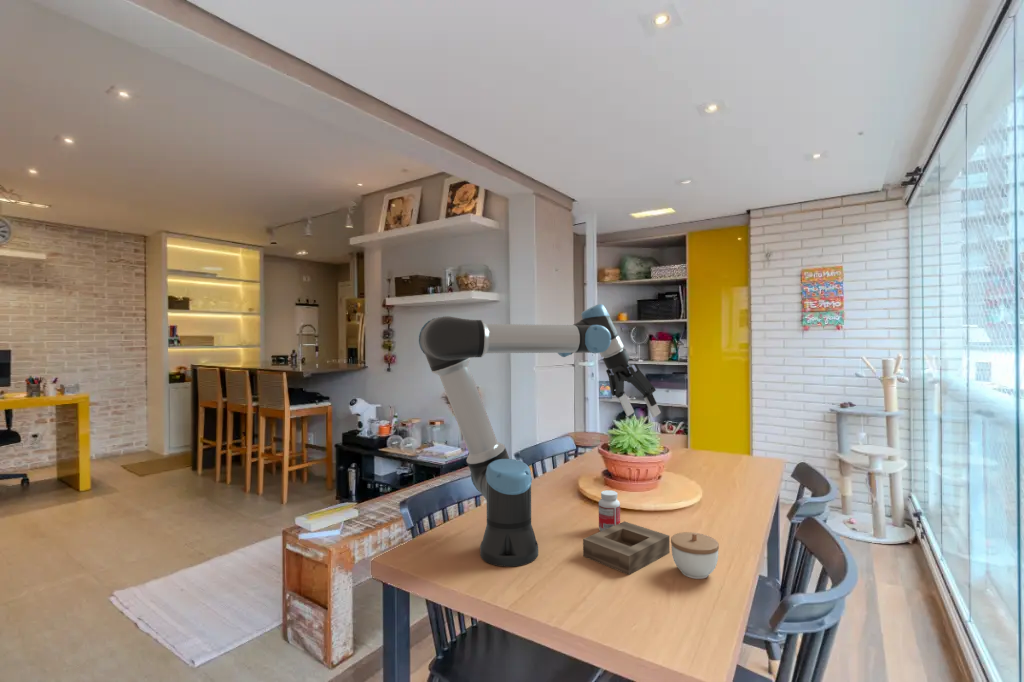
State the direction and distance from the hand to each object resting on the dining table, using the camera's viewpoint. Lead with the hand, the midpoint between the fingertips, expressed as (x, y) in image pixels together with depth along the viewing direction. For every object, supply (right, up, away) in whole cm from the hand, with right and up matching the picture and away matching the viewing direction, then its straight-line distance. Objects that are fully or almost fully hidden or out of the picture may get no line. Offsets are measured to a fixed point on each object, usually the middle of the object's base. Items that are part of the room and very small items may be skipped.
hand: (643, 414), depth 156 cm
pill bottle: (-12, -33, -8) cm, 36 cm away
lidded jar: (+3, -33, -35) cm, 48 cm away
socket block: (-11, -33, -25) cm, 42 cm away
